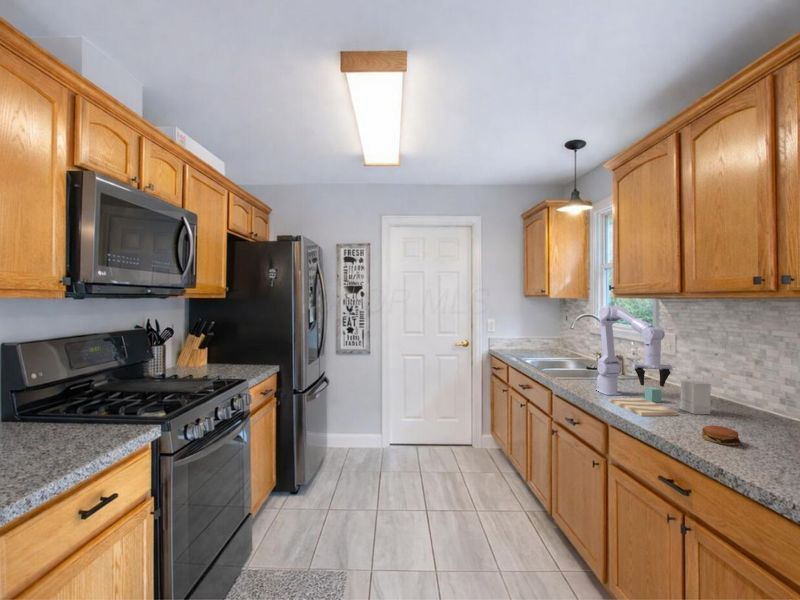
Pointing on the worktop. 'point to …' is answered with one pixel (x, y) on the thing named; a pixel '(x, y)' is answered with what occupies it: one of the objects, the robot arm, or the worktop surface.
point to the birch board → (644, 407)
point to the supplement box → (695, 396)
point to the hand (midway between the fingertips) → (651, 385)
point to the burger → (720, 435)
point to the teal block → (652, 394)
